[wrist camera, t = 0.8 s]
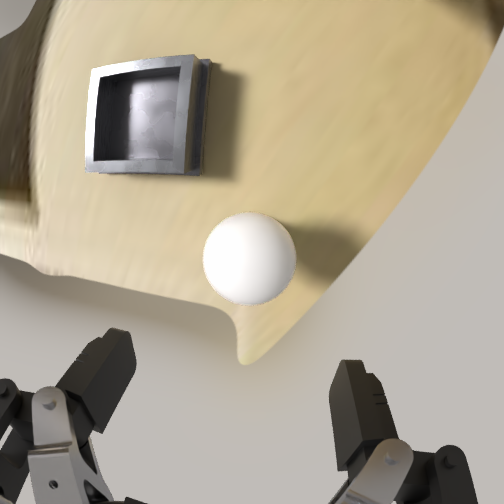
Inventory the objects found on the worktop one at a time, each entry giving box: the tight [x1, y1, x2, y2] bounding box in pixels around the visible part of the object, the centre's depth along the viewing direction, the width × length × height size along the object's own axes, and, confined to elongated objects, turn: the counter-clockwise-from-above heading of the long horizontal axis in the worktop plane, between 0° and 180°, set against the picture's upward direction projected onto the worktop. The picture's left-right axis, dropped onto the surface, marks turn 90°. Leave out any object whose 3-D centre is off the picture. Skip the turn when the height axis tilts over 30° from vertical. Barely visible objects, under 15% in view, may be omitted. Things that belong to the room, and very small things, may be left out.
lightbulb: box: [203, 212, 296, 306], centre depth 21 cm, size 6×6×11 cm
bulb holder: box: [85, 55, 212, 176], centre depth 21 cm, size 11×11×4 cm
